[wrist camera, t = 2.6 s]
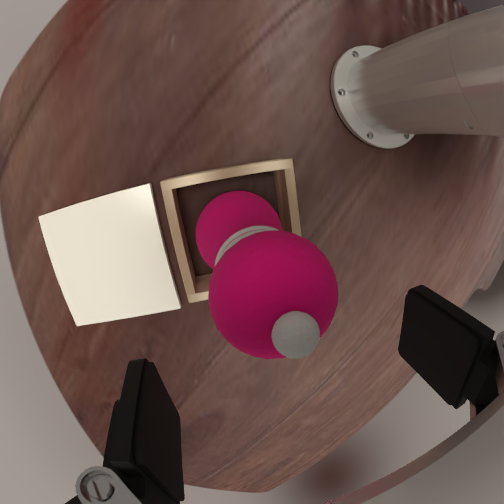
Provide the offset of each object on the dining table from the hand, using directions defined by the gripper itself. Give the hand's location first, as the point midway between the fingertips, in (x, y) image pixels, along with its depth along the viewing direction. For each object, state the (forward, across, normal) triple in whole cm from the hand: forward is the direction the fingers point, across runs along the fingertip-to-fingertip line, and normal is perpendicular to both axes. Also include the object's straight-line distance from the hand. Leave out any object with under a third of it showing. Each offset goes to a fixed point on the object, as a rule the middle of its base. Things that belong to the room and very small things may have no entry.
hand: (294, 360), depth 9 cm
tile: (+20, +13, +1) cm, 24 cm away
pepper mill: (+20, -1, 0) cm, 20 cm away
